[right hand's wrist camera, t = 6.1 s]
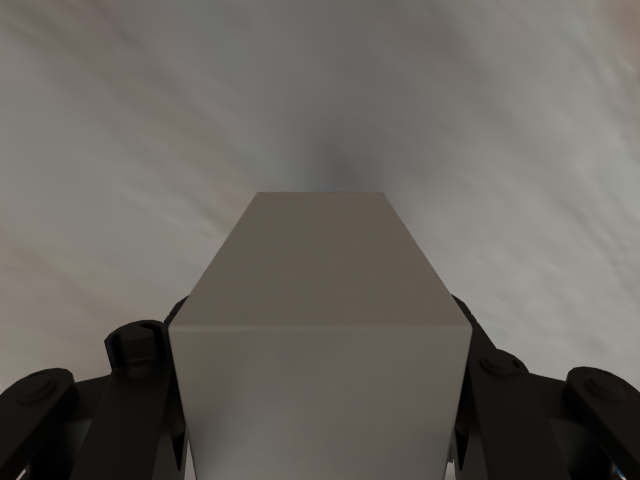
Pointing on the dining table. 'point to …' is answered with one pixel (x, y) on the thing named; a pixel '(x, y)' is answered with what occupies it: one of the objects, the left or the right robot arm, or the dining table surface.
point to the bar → (320, 347)
